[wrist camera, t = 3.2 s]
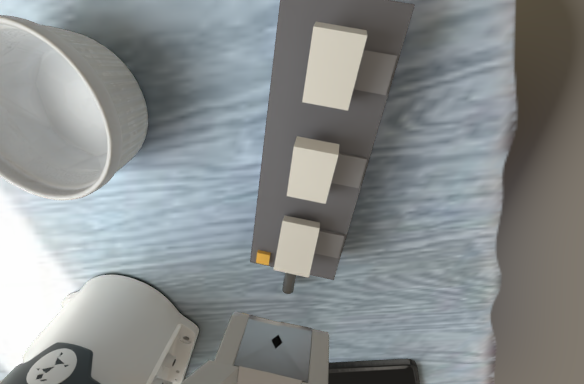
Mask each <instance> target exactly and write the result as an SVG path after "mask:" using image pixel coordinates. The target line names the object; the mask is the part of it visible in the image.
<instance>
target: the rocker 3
mask: <svg viewBox="0 0 584 384" xmlns="http://www.w3.org/2000/svg"><path fill="white" fill-rule="evenodd" d="M319 229H320V223H319V222H315V221H310V220H305V219H300V218H295V217H290V216H284V218H283V221H282V226H281V231H280V237H279V242H278V248H277V253H276V259H275V264H274V269H273V270H276V271H280V272H285V273H289V274H294V275H299V276H303V277H308V278H309V275H310V270H311V266H312V261H313V257H314V252H315V248H316V243H317V239H318V234H319Z"/></svg>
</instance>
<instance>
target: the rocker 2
mask: <svg viewBox="0 0 584 384" xmlns="http://www.w3.org/2000/svg"><path fill="white" fill-rule="evenodd" d="M338 155H339V144H335V143H330V142H325V141H320V140H314V139H309V138H304V137H299V136H297V138H296V141H295V144H294V148H293V155H292V162H291V169H290V176H289V183H288V190H287V196H289V197H294V198H299V199H304V200H309V201H314V202H319V203H324V204H326V201H327V197H328V193H329V189H330V185H331V182H332V178H333V174H334V170H335V166H336V163H337V159H338Z"/></svg>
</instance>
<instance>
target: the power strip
mask: <svg viewBox="0 0 584 384" xmlns="http://www.w3.org/2000/svg"><path fill="white" fill-rule="evenodd" d="M414 6H415V5H414V4H408V3H402V2H396V1H390V0H280V7H279V15H278V24H277V33H276V42H275V50H274V59H273V68H272V77H271V85H270V94H269V103H268V111H267V120H266V129H265V138H264V146H263V155H262V164H261V173H260V181H259V190H258V199H257V208H256V216H255V225H254V234H253V243H252V251H251V260H250V262H253V263H258V264H262V265H267V266H271V267H274V264H275V259H276V253H277V248H278V242H279V237H280V231H281V226H282V221H283V218H284V216H290V217H295V218H300V219H305V220H310V221H315V222H319V223H320V229H319V234H318V239H317V243H316V248H315V252H314V257H313V261H312V266H311V270H310V275H313V276H318V277H323V278H327V279H332V280H334V277H335V274H336V270H337V267H338V263H339V260H340V257H341V253H342V250H343V246H344V243H345V240H346V236H347V233H348V229H349V226H350V223H351V219H352V216H353V213H354V209H355V206H356V202H357V199H358V196H359V192H360V189H361V185H362V182H363V179H364V175H365V172H366V168H367V165H368V162H369V158H370V155H371V151H372V148H373V145H374V141H375V138H376V134H377V131H378V128H379V124H380V121H381V118H382V114H383V111H384V107H385V104H386V101H387V97H388V94H389V90H390V87H391V84H392V80H393V77H394V73H395V70H396V67H397V63H398V60H399V56H400V53H401V50H402V46H403V43H404V39H405V36H406V33H407V29H408V26H409V23H410V19H411V16H412V12H413V9H414ZM316 22H321V23H327V24H333V25H339V26H345V27H351V28H357V29H362V30H367V39H366V43H365V47H364V50H363V54H362V58H361V62H360V66H359V70H358V74H357V78H356V81H355V85H354V89H353V93H352V97H351V101H350V105H349V108H348V111H347V110H342V109H336V108H331V107H326V106H320V105H315V104H309V103H304V102H302V100H303V93H304V86H305V80H306V73H307V66H308V59H309V53H310V46H311V39H312V32H313V26H314V24H315V23H316ZM297 136H299V137H304V138H309V139H314V140H320V141H325V142H330V143H335V144H339V155H338V159H337V163H336V166H335V170H334V174H333V178H332V182H331V185H330V189H329V193H328V197H327V201H326V204H324V203H319V202H314V201H309V200H304V199H299V198H294V197H289V196H287V190H288V183H289V176H290V169H291V162H292V155H293V148H294V144H295V141H296V138H297ZM295 280H296V275H294V274H289V273H285V278H284V283H283V288H282V290H283V292H284V293H286V294H291V293H292V292H293V289H294V285H295Z"/></svg>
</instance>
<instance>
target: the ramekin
mask: <svg viewBox="0 0 584 384" xmlns="http://www.w3.org/2000/svg"><path fill="white" fill-rule="evenodd" d="M147 127H148V113H147V107H146V102H145V99H144V96H143V93H142V91H141V89H140V87H139V85H138V83H137V81H136V79H135V78H134V76H133V74H132V73H131V72H130V70H129V69H128V68H127V66H126V65H125V64H124V63H123V62H122V61H121V60H120V59H119V58H118V57H117V56H116V55H115V54H114V53H113V52H112V51H110V50H109V49H107V48H106V47H105V46H103V45H101V44H100V43H98V42H97V41H95V40H93V39H91V38H89V37H87V36H85V35H82V34H79V33H75V32H72V31H69V30H64V29H60V28H55V27H50V26H45V25H39V24H37V23H34V22H32V21H29V20H26V19H22V18H18V17H14V16H6V15H0V177H2V178H3V179H5V180H6V181H8V182H9V183H11V184H13V185H14V186H16V187H18V188H20V189H22V190H24V191H26V192H29V193H31V194H34V195H37V196H40V197H44V198H48V199H53V200H73V199H78V198H82V197H84V196H87V195H89V194H91V193H93V192H94V191H96V190H98V189H100V188H101V187H103V186H104V185H105V184H106V183H107V182H108V181H109V180H110V179H111V178H112V177H113V176H114V174H115V173H116V172H117V171H118V170H119V169H121V168H122V167H123V166H124V165H125V164H126V163H128V162H129V161H130V160H131V159H132V158H133V157H134V156H135V155H136V154H137V153H138V150H139V149H140V148H141V147H142V144H143V142H144V141H145V137H146V134H147Z"/></svg>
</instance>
